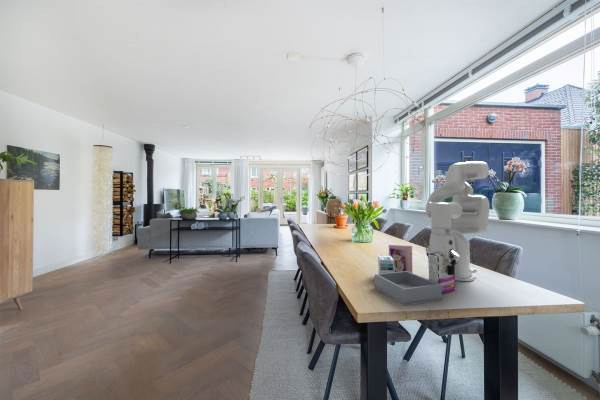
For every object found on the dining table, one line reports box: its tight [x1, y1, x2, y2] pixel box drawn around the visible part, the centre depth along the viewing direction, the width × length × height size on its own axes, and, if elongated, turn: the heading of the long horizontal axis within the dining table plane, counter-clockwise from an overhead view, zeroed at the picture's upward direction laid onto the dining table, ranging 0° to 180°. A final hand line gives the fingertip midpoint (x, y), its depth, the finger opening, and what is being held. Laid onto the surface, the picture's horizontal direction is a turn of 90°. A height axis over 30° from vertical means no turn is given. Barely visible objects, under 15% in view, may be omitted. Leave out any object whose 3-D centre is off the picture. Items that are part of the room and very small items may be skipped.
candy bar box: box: [427, 253, 456, 295], centre depth 109 cm, size 11×5×16 cm, turn 117°
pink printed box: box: [388, 244, 413, 273], centre depth 133 cm, size 11×7×15 cm, turn 33°
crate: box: [374, 271, 443, 306], centre depth 107 cm, size 17×20×6 cm
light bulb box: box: [377, 254, 395, 274], centre depth 126 cm, size 11×7×11 cm, turn 168°
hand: (441, 271), depth 109 cm, fingers open, 9 cm apart
